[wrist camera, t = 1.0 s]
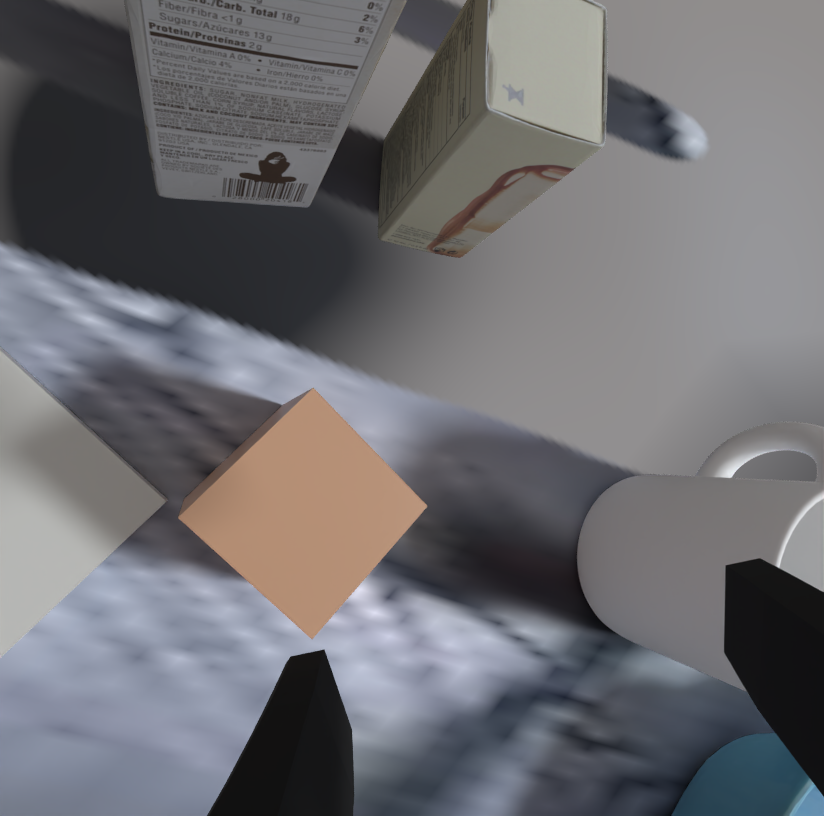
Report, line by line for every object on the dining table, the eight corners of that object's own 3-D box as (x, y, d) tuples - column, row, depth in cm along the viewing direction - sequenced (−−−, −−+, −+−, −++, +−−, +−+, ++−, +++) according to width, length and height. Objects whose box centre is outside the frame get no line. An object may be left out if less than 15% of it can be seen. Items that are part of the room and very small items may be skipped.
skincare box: (463, 261, 27) (607, 157, 17) (374, 242, 25) (479, 116, 16) (470, 157, 27) (614, 1, 18) (383, 132, 26) (491, -54, 16)
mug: (648, 384, 30) (861, 352, 20) (744, 472, 32) (979, 481, 22) (541, 583, 27) (734, 657, 17) (656, 667, 29) (885, 774, 19)
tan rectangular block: (281, 588, 22) (311, 639, 16) (183, 498, 21) (177, 518, 15) (369, 492, 24) (427, 506, 18) (282, 404, 23) (313, 388, 17)
